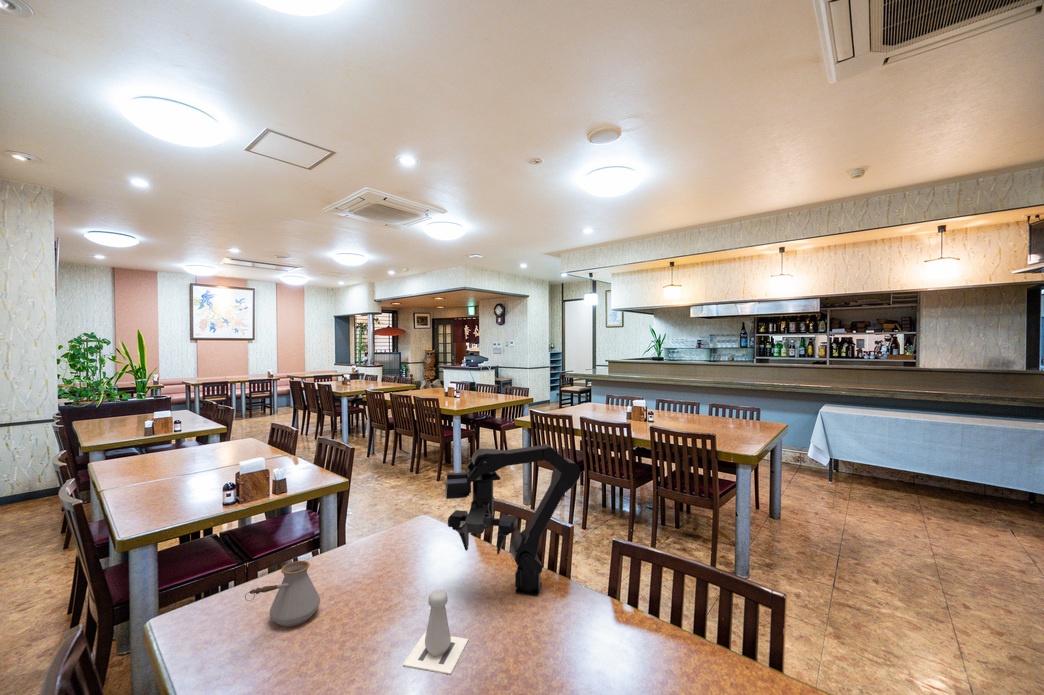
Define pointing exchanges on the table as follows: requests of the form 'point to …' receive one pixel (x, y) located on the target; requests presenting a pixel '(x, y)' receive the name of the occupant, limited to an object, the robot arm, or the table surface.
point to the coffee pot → (292, 595)
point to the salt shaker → (437, 625)
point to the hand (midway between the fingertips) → (482, 551)
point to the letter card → (436, 664)
